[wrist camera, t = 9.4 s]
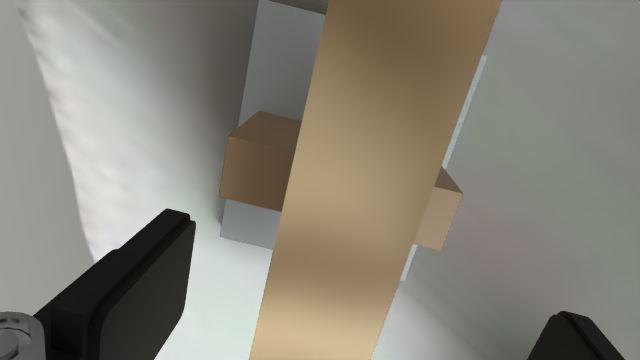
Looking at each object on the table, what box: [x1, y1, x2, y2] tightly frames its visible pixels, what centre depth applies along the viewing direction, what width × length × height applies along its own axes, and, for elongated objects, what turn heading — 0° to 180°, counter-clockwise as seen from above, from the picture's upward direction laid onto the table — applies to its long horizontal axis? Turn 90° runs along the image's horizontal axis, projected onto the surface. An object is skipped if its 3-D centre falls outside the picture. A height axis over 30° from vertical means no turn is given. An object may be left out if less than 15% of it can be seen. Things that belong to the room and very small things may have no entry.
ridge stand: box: [219, 0, 488, 281], centre depth 20 cm, size 12×14×7 cm
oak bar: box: [249, 0, 502, 360], centre depth 14 cm, size 20×4×5 cm, turn 166°
